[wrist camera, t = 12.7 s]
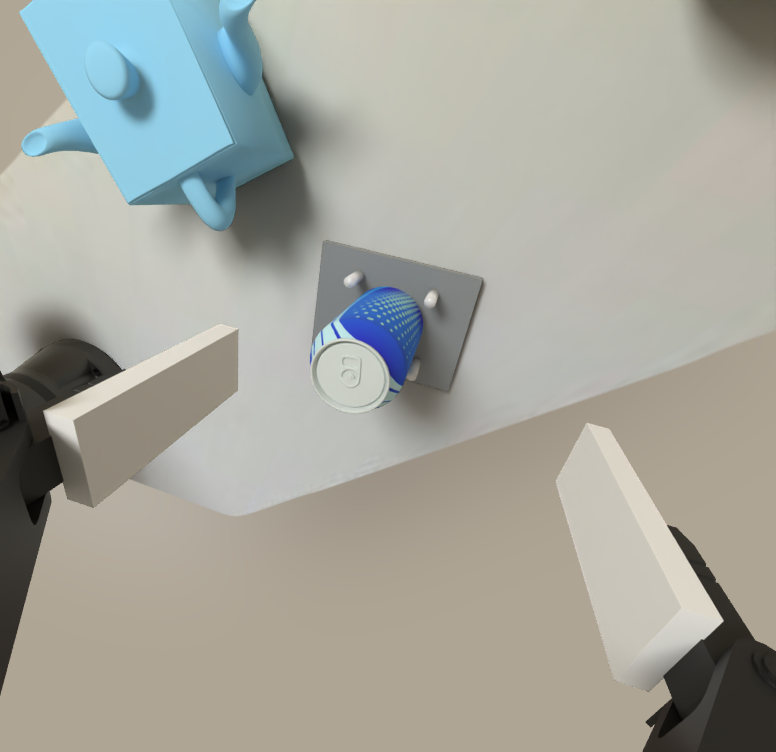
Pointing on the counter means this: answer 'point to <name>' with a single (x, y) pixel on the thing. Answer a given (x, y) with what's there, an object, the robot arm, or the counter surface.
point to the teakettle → (161, 97)
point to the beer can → (366, 351)
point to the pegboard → (420, 281)
